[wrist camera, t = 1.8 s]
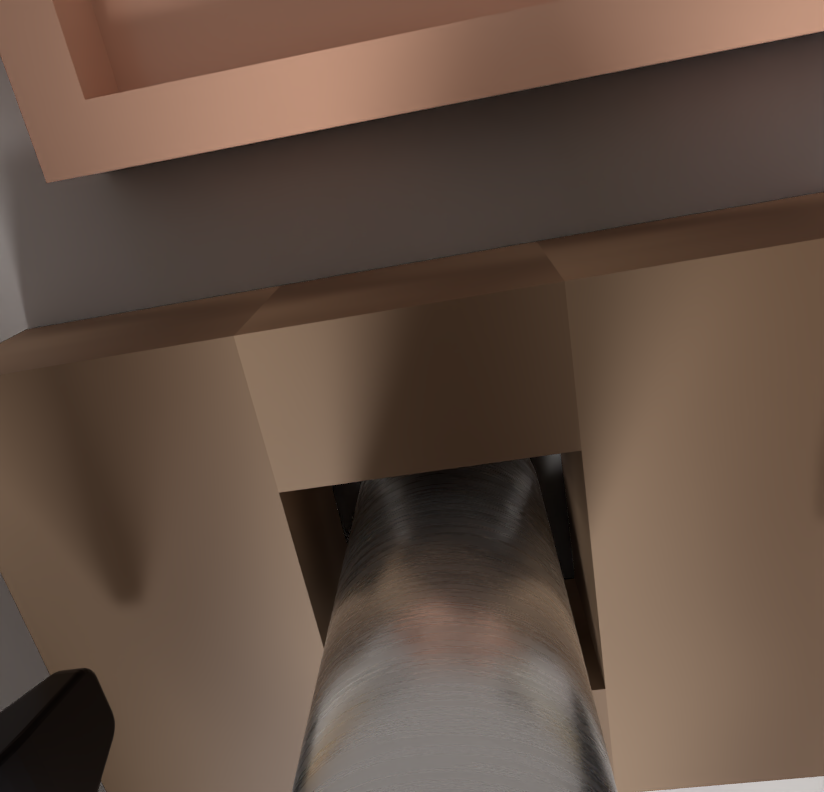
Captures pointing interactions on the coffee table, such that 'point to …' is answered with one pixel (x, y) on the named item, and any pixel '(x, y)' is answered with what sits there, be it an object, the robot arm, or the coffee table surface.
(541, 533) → the metal pin
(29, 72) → the terracotta dish
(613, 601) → the clamp block
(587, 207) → the coffee table surface
